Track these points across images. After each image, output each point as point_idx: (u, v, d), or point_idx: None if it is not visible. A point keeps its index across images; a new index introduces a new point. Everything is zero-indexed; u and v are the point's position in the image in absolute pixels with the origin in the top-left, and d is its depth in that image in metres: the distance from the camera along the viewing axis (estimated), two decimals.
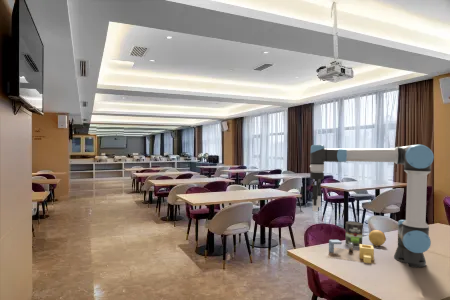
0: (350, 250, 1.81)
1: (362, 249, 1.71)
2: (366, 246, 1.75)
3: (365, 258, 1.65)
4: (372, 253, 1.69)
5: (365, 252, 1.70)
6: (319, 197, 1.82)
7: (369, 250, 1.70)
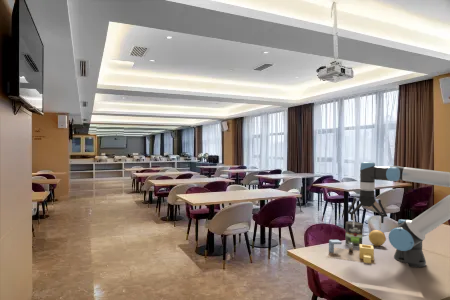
0: (350, 250, 1.81)
1: (362, 249, 1.71)
2: (366, 246, 1.75)
3: (365, 258, 1.65)
4: (372, 253, 1.69)
5: (365, 252, 1.70)
6: (379, 218, 1.70)
7: (369, 250, 1.70)
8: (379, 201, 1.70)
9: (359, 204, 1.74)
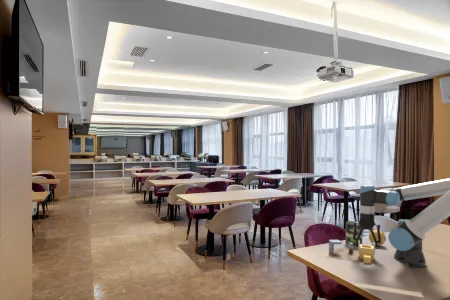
0: (350, 250, 1.81)
1: (362, 249, 1.71)
2: (366, 246, 1.75)
3: (365, 258, 1.65)
4: (372, 253, 1.69)
5: (365, 252, 1.70)
6: (373, 244, 1.71)
7: (369, 250, 1.70)
8: (378, 226, 1.70)
9: None
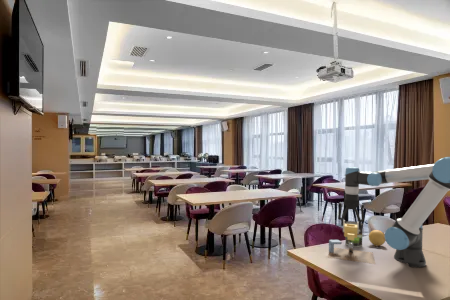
0: (350, 250, 1.81)
1: (346, 228, 1.80)
2: (351, 225, 1.85)
3: (349, 235, 1.74)
4: (356, 231, 1.78)
5: (349, 230, 1.80)
6: (357, 223, 1.80)
7: (353, 228, 1.79)
8: (362, 206, 1.79)
9: None
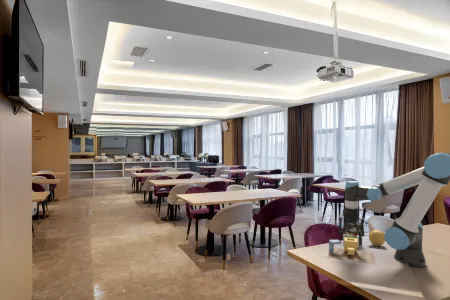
0: None
1: (346, 242, 1.80)
2: (351, 239, 1.84)
3: (349, 250, 1.74)
4: (356, 246, 1.78)
5: (349, 245, 1.79)
6: (357, 237, 1.80)
7: (353, 243, 1.79)
8: (362, 220, 1.79)
9: None
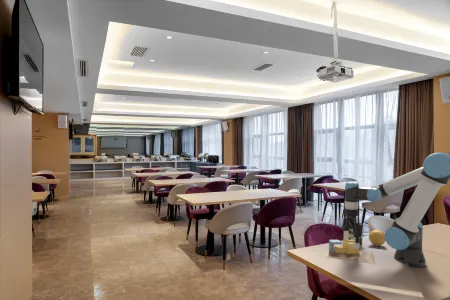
0: None
1: (343, 242, 1.84)
2: None
3: (334, 247, 1.83)
4: (347, 247, 1.79)
5: (344, 245, 1.83)
6: None
7: (346, 244, 1.81)
8: (354, 221, 1.76)
9: None
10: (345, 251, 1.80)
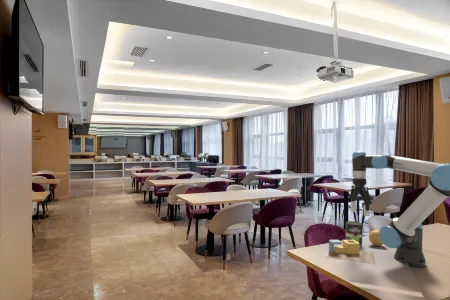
0: None
1: (343, 242, 1.84)
2: (354, 242, 1.82)
3: (334, 247, 1.83)
4: (347, 247, 1.79)
5: (344, 245, 1.83)
6: None
7: (346, 244, 1.81)
8: (363, 189, 1.77)
9: None
10: (345, 251, 1.80)
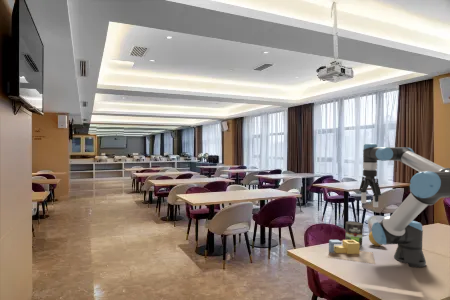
0: None
1: (343, 242, 1.84)
2: (354, 242, 1.82)
3: (334, 247, 1.83)
4: (347, 247, 1.79)
5: (344, 245, 1.83)
6: None
7: (346, 244, 1.81)
8: (373, 180, 1.79)
9: None
10: (345, 251, 1.80)
